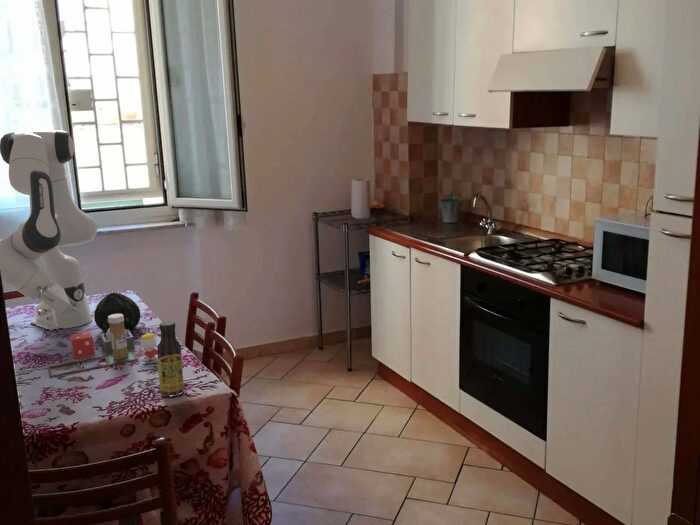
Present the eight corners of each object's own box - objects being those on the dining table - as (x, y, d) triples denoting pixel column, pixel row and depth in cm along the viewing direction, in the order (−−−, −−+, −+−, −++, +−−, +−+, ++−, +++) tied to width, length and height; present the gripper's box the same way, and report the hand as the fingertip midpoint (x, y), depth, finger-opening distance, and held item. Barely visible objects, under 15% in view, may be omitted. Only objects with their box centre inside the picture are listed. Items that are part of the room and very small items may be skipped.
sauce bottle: (162, 400, 184) (154, 328, 180) (158, 391, 190) (150, 321, 185) (187, 395, 187) (180, 324, 182) (183, 386, 193) (175, 317, 188)
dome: (103, 346, 224) (100, 327, 223) (118, 340, 230) (115, 321, 228) (117, 349, 221) (115, 330, 220) (132, 342, 227) (130, 323, 225)
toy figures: (177, 352, 219) (174, 327, 217) (179, 357, 215) (176, 331, 213) (137, 359, 215) (134, 333, 213) (139, 364, 211) (135, 337, 209)
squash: (130, 304, 253) (101, 281, 242) (155, 313, 244) (127, 289, 233) (106, 338, 247) (76, 315, 237) (131, 347, 238) (101, 324, 228)
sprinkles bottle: (125, 359, 213) (120, 317, 210) (110, 360, 214) (105, 318, 210) (130, 354, 218) (125, 312, 215) (116, 354, 218) (110, 313, 215)
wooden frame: (49, 377, 203) (49, 376, 203) (47, 367, 211) (47, 366, 211) (138, 360, 214) (138, 358, 214) (133, 351, 221) (132, 349, 221)
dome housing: (106, 354, 220) (104, 342, 219) (102, 345, 228) (100, 334, 227) (134, 348, 224) (133, 336, 223) (129, 340, 231) (128, 329, 231)
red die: (74, 358, 217) (72, 340, 216) (72, 352, 223) (69, 334, 221) (95, 354, 220) (92, 336, 218) (92, 349, 225) (90, 331, 224)
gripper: (46, 283, 192) (89, 311, 199) (41, 268, 210) (80, 294, 216) (31, 301, 191) (74, 329, 198) (27, 284, 209) (67, 310, 216)
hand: (77, 310), depth 207 cm, fingers open, 8 cm apart
